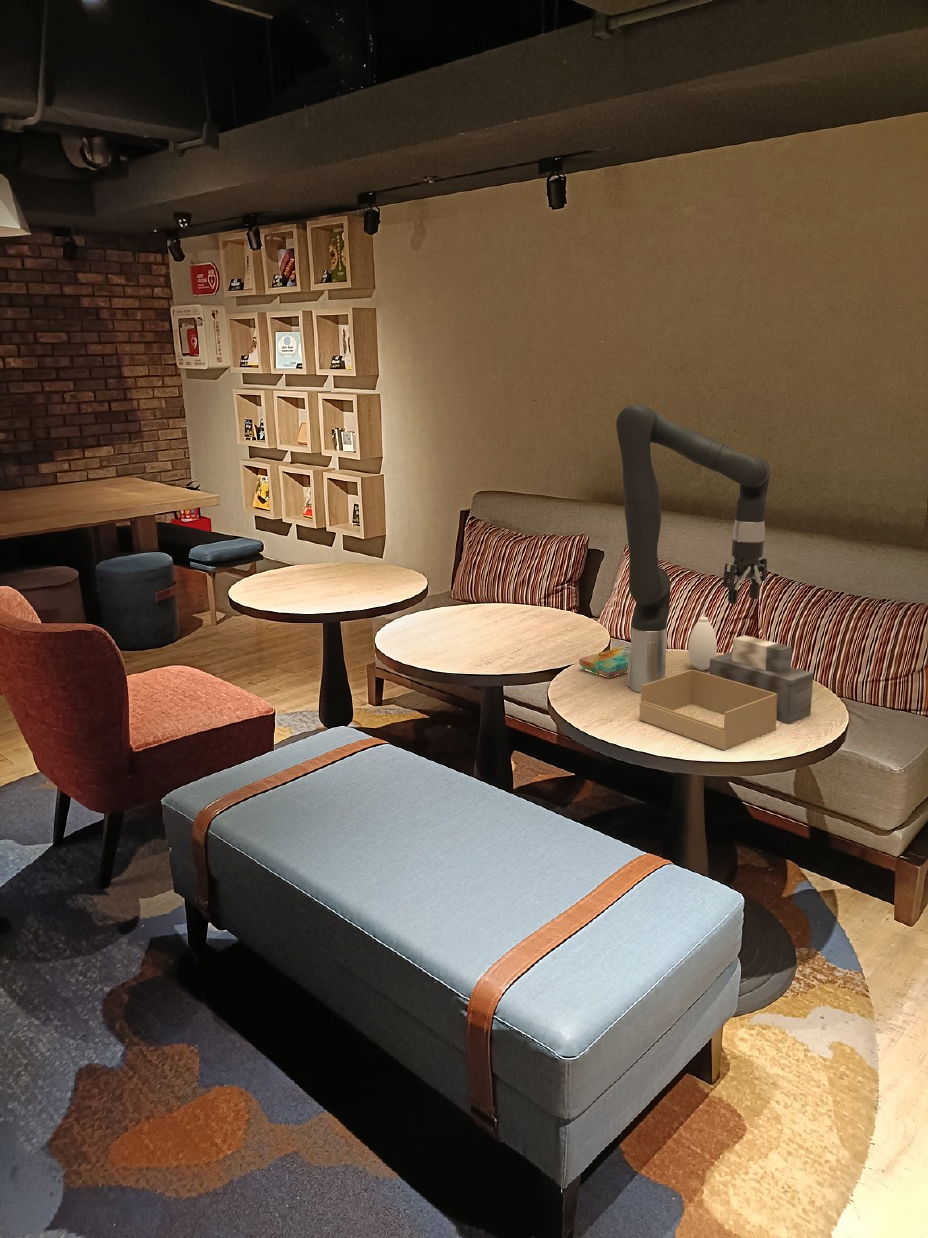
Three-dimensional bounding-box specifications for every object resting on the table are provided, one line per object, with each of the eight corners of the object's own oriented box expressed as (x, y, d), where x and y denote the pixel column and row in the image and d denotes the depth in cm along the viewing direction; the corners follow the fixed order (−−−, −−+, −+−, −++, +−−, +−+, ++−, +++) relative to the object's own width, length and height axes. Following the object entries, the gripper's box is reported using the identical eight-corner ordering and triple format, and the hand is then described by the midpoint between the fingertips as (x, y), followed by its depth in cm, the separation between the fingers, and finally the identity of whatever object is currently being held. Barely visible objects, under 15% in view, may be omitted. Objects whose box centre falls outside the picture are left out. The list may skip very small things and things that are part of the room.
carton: (639, 720, 227) (640, 685, 225) (691, 702, 239) (692, 669, 236) (723, 750, 208) (725, 713, 206) (775, 729, 219) (778, 693, 217)
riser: (708, 698, 241) (709, 658, 238) (729, 691, 246) (731, 651, 243) (788, 724, 222) (791, 680, 220) (810, 715, 228) (813, 673, 225)
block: (732, 661, 236) (733, 638, 234) (743, 657, 238) (744, 635, 237) (779, 673, 225) (781, 650, 223) (790, 670, 227) (792, 646, 226)
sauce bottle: (683, 671, 264) (685, 609, 259) (693, 663, 270) (695, 604, 266) (709, 675, 260) (712, 613, 255) (719, 667, 266) (722, 607, 261)
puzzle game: (579, 656, 265) (625, 642, 278) (579, 671, 267) (625, 657, 279) (609, 665, 257) (656, 650, 269) (609, 681, 258) (656, 666, 270)
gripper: (753, 533, 237) (748, 594, 242) (717, 539, 229) (713, 602, 233) (778, 537, 231) (772, 599, 236) (742, 543, 223) (737, 608, 228)
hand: (743, 601), depth 235 cm, fingers open, 8 cm apart
